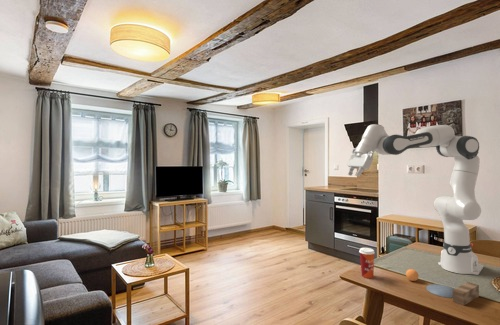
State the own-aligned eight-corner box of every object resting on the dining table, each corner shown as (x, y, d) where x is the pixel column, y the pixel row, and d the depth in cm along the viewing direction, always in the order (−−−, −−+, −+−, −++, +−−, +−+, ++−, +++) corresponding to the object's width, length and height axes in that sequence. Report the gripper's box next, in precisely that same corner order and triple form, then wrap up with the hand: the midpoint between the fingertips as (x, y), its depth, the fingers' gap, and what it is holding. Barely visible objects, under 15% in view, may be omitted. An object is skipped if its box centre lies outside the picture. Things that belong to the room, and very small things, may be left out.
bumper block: (468, 293, 127) (467, 281, 127) (479, 296, 124) (478, 285, 124) (452, 301, 120) (452, 290, 120) (463, 305, 117) (463, 293, 117)
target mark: (435, 282, 139) (435, 282, 139) (466, 292, 127) (466, 292, 127) (420, 289, 132) (420, 289, 132) (452, 300, 121) (452, 300, 121)
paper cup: (368, 280, 143) (367, 252, 143) (356, 275, 150) (355, 248, 150) (379, 277, 147) (378, 250, 147) (366, 272, 154) (366, 246, 154)
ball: (409, 277, 145) (409, 266, 145) (420, 280, 141) (420, 269, 141) (403, 279, 142) (403, 269, 142) (414, 283, 138) (414, 272, 138)
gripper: (379, 154, 141) (367, 179, 140) (361, 154, 161) (350, 176, 161) (368, 148, 140) (356, 174, 140) (351, 150, 161) (340, 172, 160)
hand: (353, 175), depth 151 cm, fingers open, 8 cm apart
